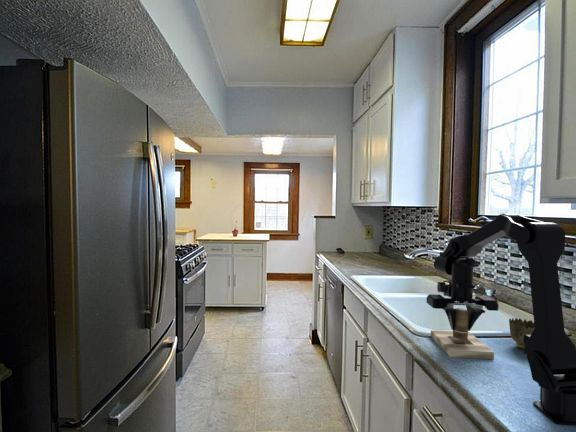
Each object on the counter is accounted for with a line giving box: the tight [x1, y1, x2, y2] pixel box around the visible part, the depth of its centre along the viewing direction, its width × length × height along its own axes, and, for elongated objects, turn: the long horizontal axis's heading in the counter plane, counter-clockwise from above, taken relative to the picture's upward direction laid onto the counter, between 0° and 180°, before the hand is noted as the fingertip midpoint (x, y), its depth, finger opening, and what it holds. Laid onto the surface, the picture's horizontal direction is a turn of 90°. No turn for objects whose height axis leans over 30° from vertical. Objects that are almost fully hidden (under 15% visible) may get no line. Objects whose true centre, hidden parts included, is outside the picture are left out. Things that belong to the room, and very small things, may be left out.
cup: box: [508, 317, 534, 351], centre depth 94 cm, size 8×7×8 cm
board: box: [430, 329, 495, 360], centre depth 94 cm, size 14×12×2 cm
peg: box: [452, 307, 469, 339], centre depth 94 cm, size 4×4×8 cm
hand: (460, 330), depth 94 cm, fingers closed on peg, 4 cm apart
